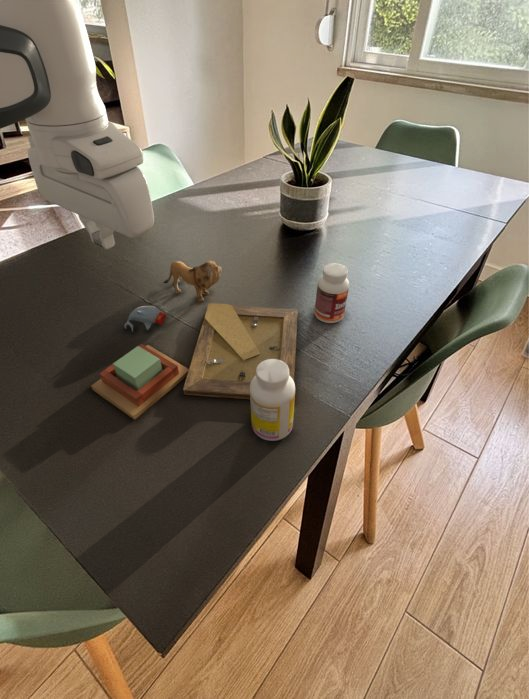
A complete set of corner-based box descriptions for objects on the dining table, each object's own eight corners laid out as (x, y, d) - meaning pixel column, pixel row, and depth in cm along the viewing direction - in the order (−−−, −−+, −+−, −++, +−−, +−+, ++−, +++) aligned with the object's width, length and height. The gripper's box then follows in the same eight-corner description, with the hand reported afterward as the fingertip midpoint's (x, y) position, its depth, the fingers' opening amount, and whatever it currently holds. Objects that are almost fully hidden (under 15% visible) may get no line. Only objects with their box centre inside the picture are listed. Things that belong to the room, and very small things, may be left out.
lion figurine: (226, 293, 94) (224, 258, 88) (215, 307, 91) (212, 271, 85) (169, 278, 98) (163, 243, 92) (157, 291, 95) (149, 255, 89)
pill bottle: (337, 328, 86) (344, 282, 78) (309, 318, 88) (313, 273, 80) (348, 311, 90) (356, 266, 82) (321, 302, 92) (326, 258, 84)
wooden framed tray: (134, 420, 69) (130, 408, 67) (92, 389, 74) (87, 377, 72) (190, 373, 77) (188, 361, 75) (148, 348, 81) (145, 336, 79)
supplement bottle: (279, 403, 72) (282, 348, 63) (300, 432, 67) (306, 377, 59) (244, 418, 69) (241, 363, 61) (263, 449, 65) (263, 394, 56)
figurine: (123, 331, 84) (125, 314, 87) (163, 335, 86) (165, 319, 89) (123, 313, 81) (126, 297, 84) (166, 318, 83) (167, 302, 86)
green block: (139, 394, 72) (134, 378, 69) (118, 379, 74) (112, 363, 71) (163, 375, 75) (159, 359, 72) (142, 361, 77) (137, 345, 75)
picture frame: (209, 309, 90) (184, 395, 73) (208, 303, 89) (182, 388, 72) (297, 314, 89) (292, 403, 72) (297, 308, 88) (293, 396, 71)
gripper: (2, 131, 54) (41, 231, 63) (106, 168, 45) (134, 278, 54) (47, 119, 57) (78, 216, 67) (151, 151, 48) (170, 257, 58)
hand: (104, 244), depth 61 cm, fingers closed
